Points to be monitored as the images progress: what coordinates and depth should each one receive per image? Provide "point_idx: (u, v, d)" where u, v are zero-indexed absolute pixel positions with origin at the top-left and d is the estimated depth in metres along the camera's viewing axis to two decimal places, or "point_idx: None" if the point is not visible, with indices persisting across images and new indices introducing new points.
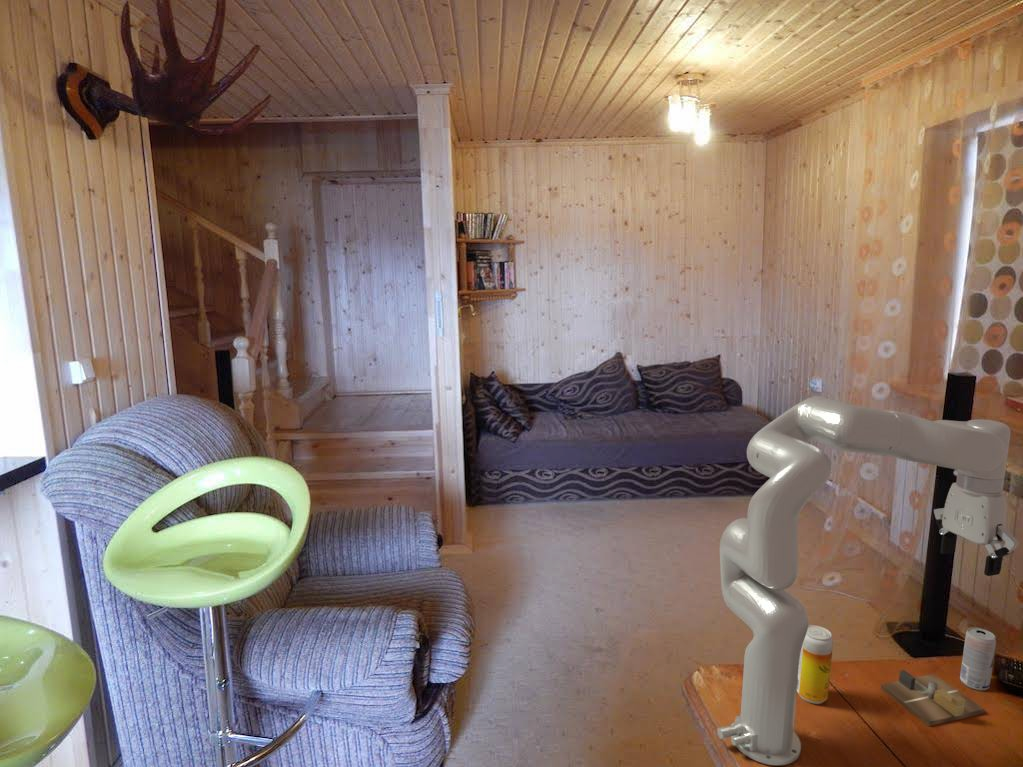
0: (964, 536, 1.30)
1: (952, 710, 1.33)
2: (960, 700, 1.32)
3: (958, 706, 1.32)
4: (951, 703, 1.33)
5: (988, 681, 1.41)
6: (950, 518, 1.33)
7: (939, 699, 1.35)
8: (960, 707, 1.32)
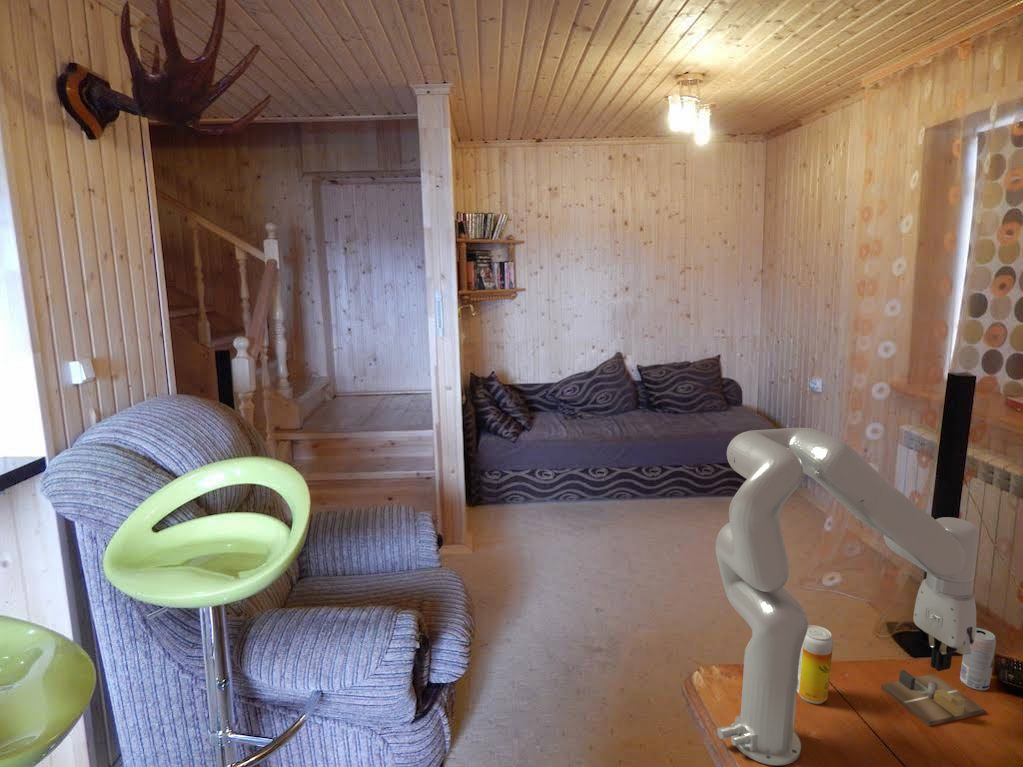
0: (935, 636, 1.27)
1: (952, 710, 1.33)
2: (960, 700, 1.32)
3: (958, 706, 1.32)
4: (951, 703, 1.33)
5: (988, 681, 1.41)
6: (921, 616, 1.30)
7: (939, 699, 1.35)
8: (960, 707, 1.32)
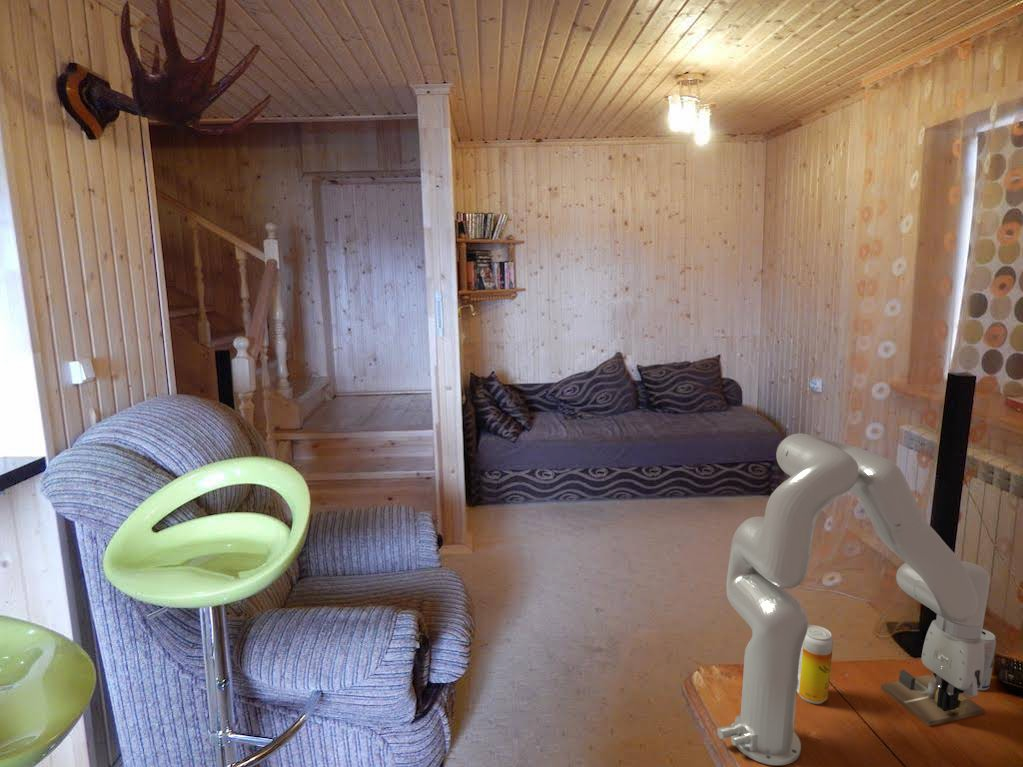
0: (942, 677, 1.30)
1: (955, 709, 1.33)
2: (963, 699, 1.32)
3: (961, 705, 1.32)
4: None
5: (988, 681, 1.41)
6: (929, 656, 1.33)
7: None
8: (963, 706, 1.32)
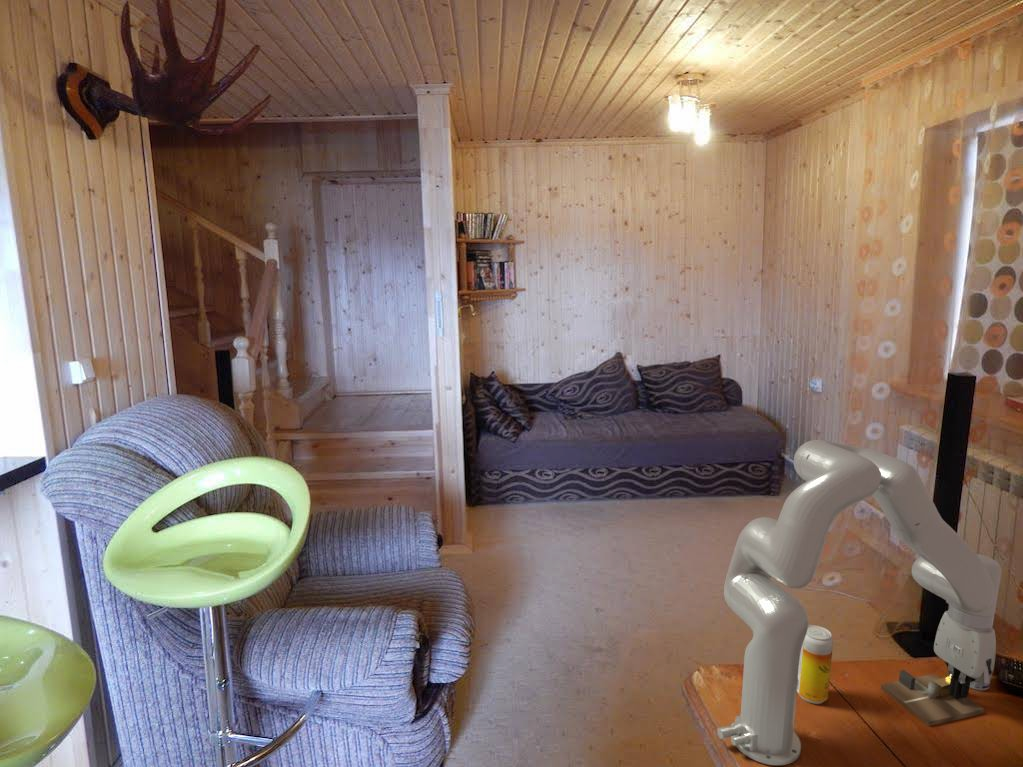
0: (955, 666, 1.34)
1: None
2: None
3: None
4: None
5: None
6: (941, 646, 1.37)
7: (945, 690, 1.38)
8: None
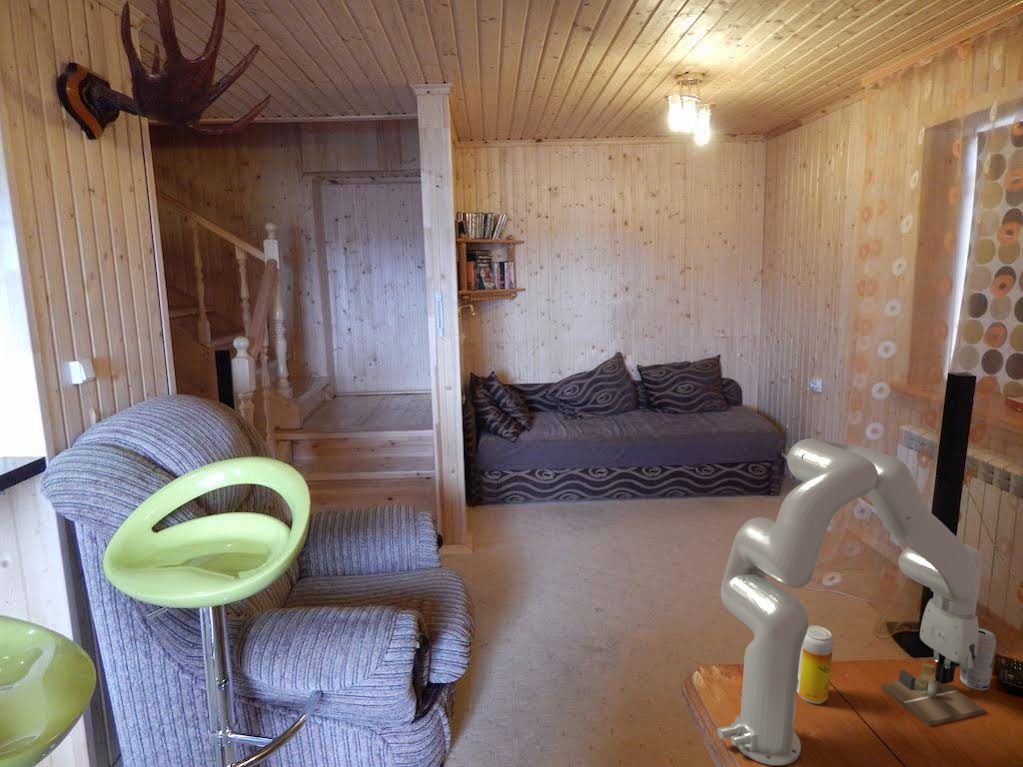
0: (939, 652, 1.38)
1: None
2: (927, 664, 1.43)
3: None
4: (933, 672, 1.42)
5: (988, 681, 1.41)
6: (927, 632, 1.41)
7: None
8: None
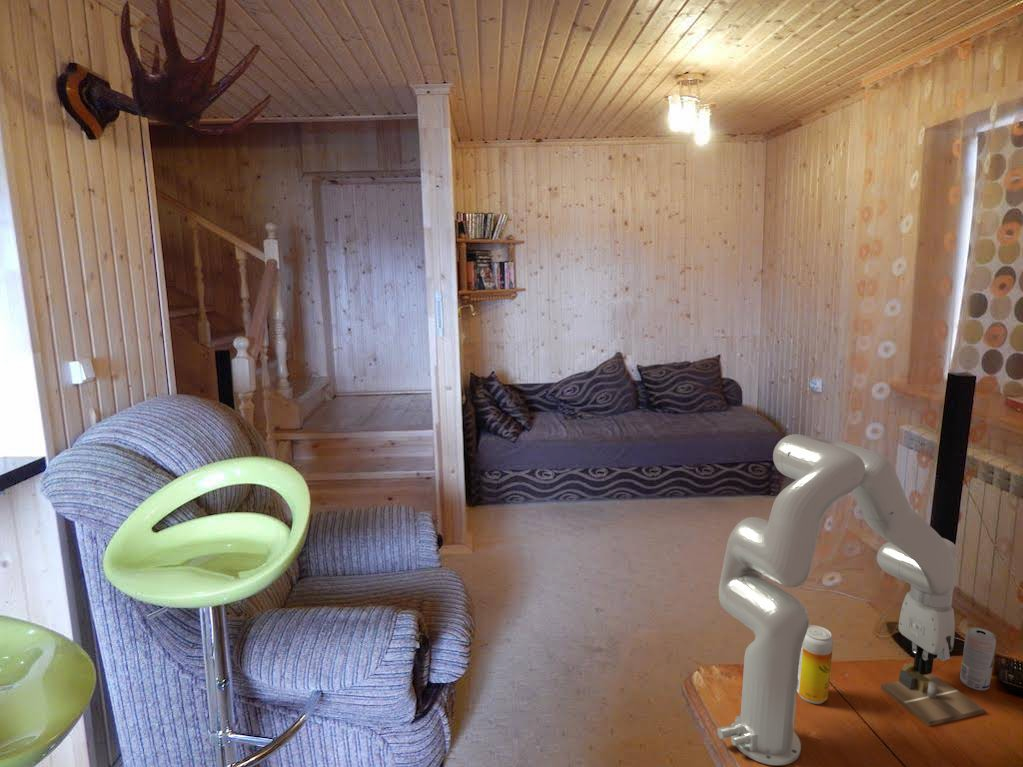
0: (917, 644, 1.40)
1: None
2: (907, 664, 1.44)
3: None
4: None
5: (988, 681, 1.41)
6: (905, 625, 1.43)
7: None
8: None
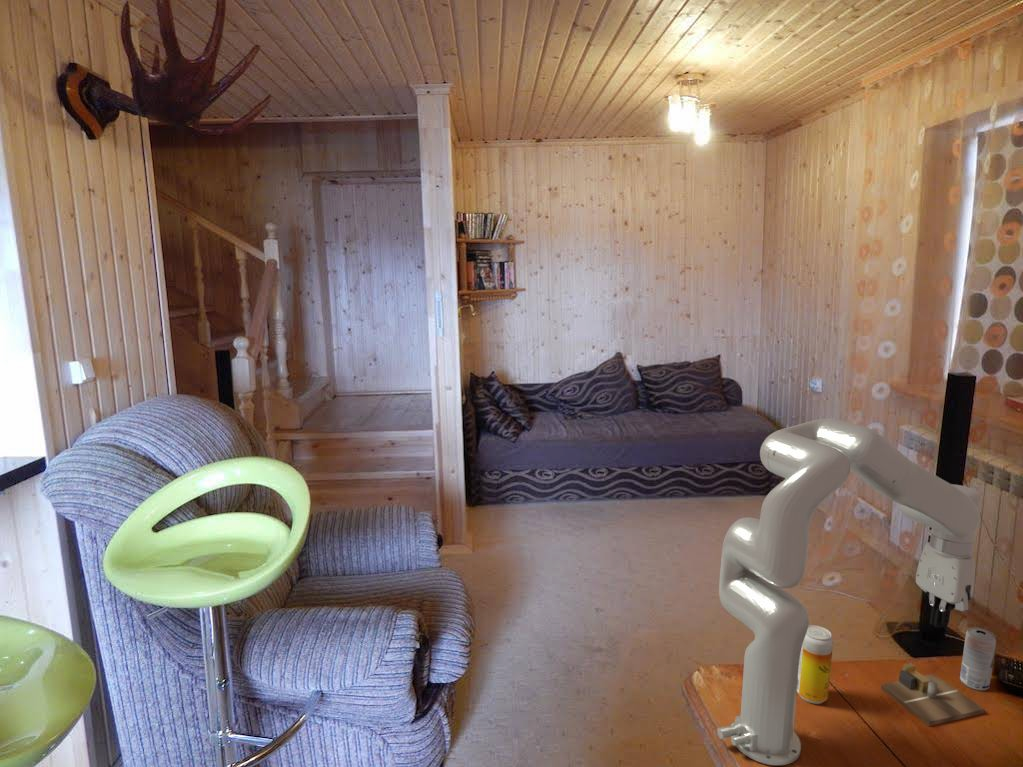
0: (935, 594, 1.38)
1: None
2: (907, 664, 1.44)
3: None
4: None
5: (988, 681, 1.41)
6: (923, 576, 1.41)
7: None
8: None
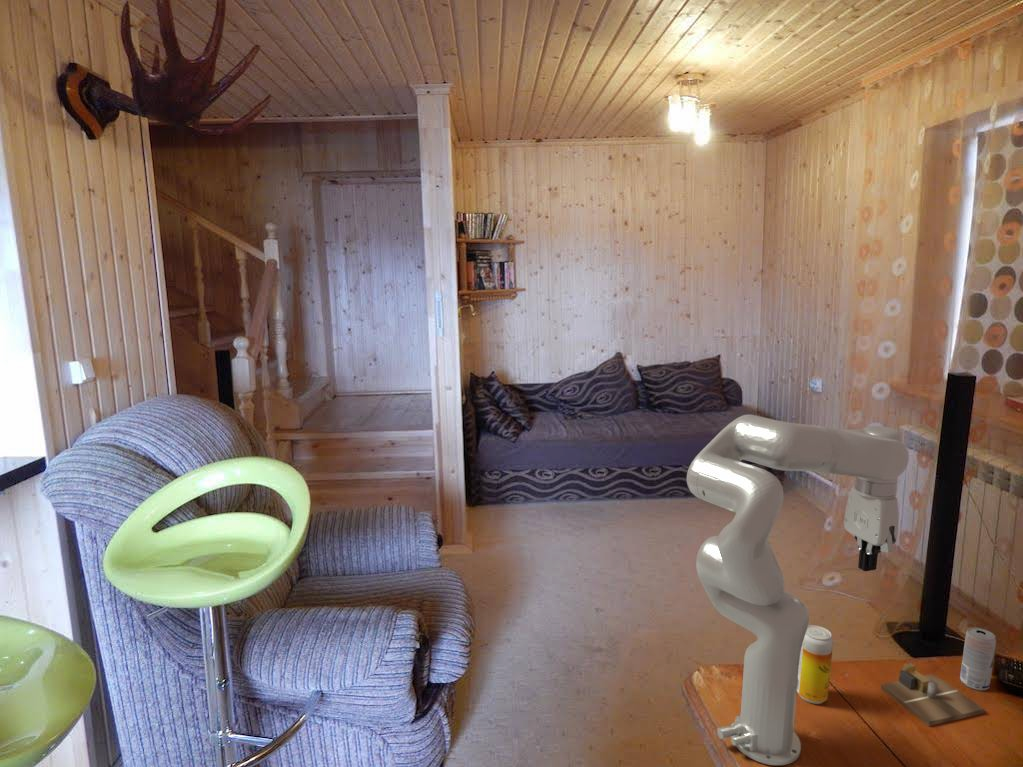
0: (861, 537, 1.36)
1: None
2: (907, 664, 1.44)
3: None
4: None
5: (988, 681, 1.41)
6: (850, 520, 1.39)
7: None
8: None
